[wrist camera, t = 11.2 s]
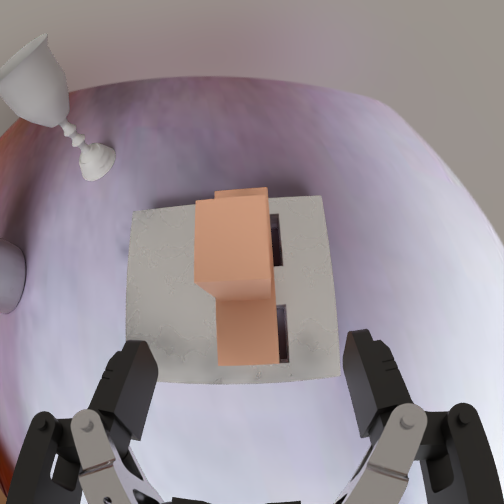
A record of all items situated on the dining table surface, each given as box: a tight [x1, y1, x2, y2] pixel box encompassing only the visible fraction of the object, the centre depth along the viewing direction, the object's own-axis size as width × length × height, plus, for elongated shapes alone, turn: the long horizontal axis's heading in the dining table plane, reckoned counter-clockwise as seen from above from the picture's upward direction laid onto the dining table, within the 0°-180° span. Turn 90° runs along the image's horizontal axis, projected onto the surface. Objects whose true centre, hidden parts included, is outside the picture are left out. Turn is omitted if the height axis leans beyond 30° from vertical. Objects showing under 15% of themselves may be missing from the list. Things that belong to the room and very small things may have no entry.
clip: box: [194, 187, 280, 366], centre depth 16 cm, size 3×10×14 cm, turn 3°
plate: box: [126, 196, 340, 384], centre depth 21 cm, size 16×14×3 cm
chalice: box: [0, 33, 116, 181], centre depth 20 cm, size 7×7×18 cm
